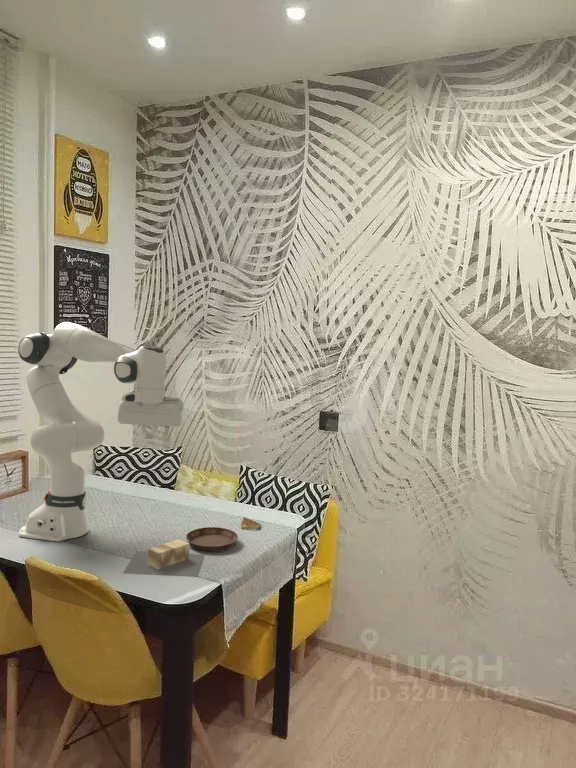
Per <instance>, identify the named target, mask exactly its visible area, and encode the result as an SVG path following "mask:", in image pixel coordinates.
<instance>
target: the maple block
mask: <svg viewBox="0 0 576 768" xmlns="http://www.w3.org/2000/svg"><path fill="white" fill-rule="evenodd" d="M147 552H148V565H150V566H152V567H154V568H156V569H161V568H164V567H167V566H169V565H172V564H175V563H178V562H181V561H184V560H187V559H189V554H190V543H189V542H188V541H187V542H186V541H184V540H182V539H175V540H172V541H169V542H165V543H162V544H159V545H156V546H153V547H149V548H148V549H147Z"/></svg>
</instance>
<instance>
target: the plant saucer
mask: <svg viewBox="0 0 576 768" xmlns="http://www.w3.org/2000/svg"><path fill="white" fill-rule="evenodd" d="M185 535H186V536H185V539H186V540H187V543H189V545H190V546H192V547H193V549H196V550H198V549H199V551H202V550H203V551H204V552H212V551H213V552H222V551H225V549H226V550H228V549H230V548H231V547H232V546H234V545H235V544H236V542H237V540H238V538H239V536H238V534H237V532H235V531H234V530H232V529H229V528H225V527H215V526H207V527H199V528H196V529H193V530H191V531H189V532H188V533H187V534H185ZM221 550H222V551H221ZM203 551H202V552H203Z"/></svg>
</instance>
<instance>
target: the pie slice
mask: <svg viewBox="0 0 576 768" xmlns="http://www.w3.org/2000/svg"><path fill="white" fill-rule="evenodd" d="M259 526H261V527H262V524H261V523H259V522H256V521H254V520H252V519H250V518H247V517H245V516H243V519H242V521H241V524H240V529H241V528H244V529H243V530H249V529H256V530H258V529H259V528H260V527H259ZM258 527H259V528H258Z"/></svg>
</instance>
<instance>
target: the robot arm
mask: <svg viewBox="0 0 576 768" xmlns="http://www.w3.org/2000/svg"><path fill="white" fill-rule="evenodd" d="M17 348H18V355H19V358H20V359H21V360H22V361H23V362H25V363H27V364H30V365H34V367H32V368H31V369H29V370H28V372H27V373H26V384H27V388H28V391H29V395H30V396H31V399H32V401H33V403H34V406H35V408H36V410H37V413H38V414H39V416H40V417H41V418H42V419H43V420H44V421H46V422H48V423H46V424H44V425H40V426H38V427H36V428H35V429H34V430H33V431H32V432H31V436H30V446H31V448H32V450H33V451H34V453H36V455H38V456H39V457H41V458H42V459H43V460H44V461H45V463H46V464H47V466H48V470H49V475H50V476H49V477H50V489H49V490H48V491H47V493H46V494H45V495H44V496H43V501H44V503H42V504H41V505H40V506H38V507H36V509H34V510H33V511H32V512H31V513H30V514H29V515H28V516H27V519H26V524H25V525H23V526H22V527H21V528H20V529H19V530H18V537H20V538H29V539H34V540H35V539H37V540H42V541H49V542H50V541H51V542H62V541H65V540H68V539H74V538H78V537H82V536H84V535H86V534H87V533H88V532H89V526H88V524H87V523H88V522H87V518H86V509H85V508H86V506H87V505H86V504H87V493H86V491H85V489H86V488H85V486H86V485H85V484H86V483H85V482H86V481H85V479H86V477H85V476H86V475H85V474H86V472H85V470H84V468H83V467H82V466H81V465H80V464H77V463H76V462H74V461H73V460H72V454H74V453H81V452H87V451H91V450H94V449H97V448H98V447H100V446H101V445H102V444H103V442H104V440H105V439H104V438H105V430H104V427H103V425H102V424H101V423H100V422H99V421H97V420H94V419H92V418H90V417H88V416H87V415H85V414H84V413H82V411H80V410H79V409H78V408H77V407H76V406H75V405H74V404H73V403H72V400H71V399H70V398H69V395H68V394H67V392H66V390H65V388H64V386H63V383H62V382H61V380H60V378H59V377H60V376H59V375H64V374H66V373H67V372H68V370H69V371H70V369H72V368H73V367H74V366H75V364H77V362H78V360H80V361H83V362H88V363H100V362H101V363H106V362H108V363H110V362H111V363H114V364H113V365H114V367H113V372H114V375H115V378H116V379H117V380H118V381H119V382H120V383H122V384H128V385H129V384H137V387H136V390H133V391H130V392H127V393H125V394H122V396H121V401H122V402H121V403H120V405H119V407H118V412H117V422H118V423H119V424H121V425H137V426H139V425H140V427H141V430H142V432H143V434H144V439H145V440H154V439H155V435H156V433H157V431H158V429H159V427H173V428H174V427H176V428H178V427H180V426H181V425H182V424H183V415H182V411H183V409H184V403H183V400H182V399H179V397H169V396H166V385H165V378H166V376H167V358H166V353H165V351H164V349H163V348H161V347H159V346H157V345H156V346H155V345H150V344H145V345H144V344H143V345H141V346H140V347H139V348H138V349H134V348H132V347H130V346H127V345H124V344H122V343H119V342H116V341H114V340H112V339H111V338H107V337H106V336H104V335H102V334H100V333H98V332H95V331H94V330H93V329H92V330H91V329H90V328H88V327H86V326H83V325H80V324H77V323H74V322H67V321H64V322H60V323H59V324H58V325H56V327H55V328H54V329H53V332H52V333H51V334H47V333H45V332H42V331H41V332H39V333H32V334H27V335H25V336H23V338H21V340H20V342H19V343H18V347H17ZM148 426H152V429H153V431H152V432H148V430H147V427H148Z"/></svg>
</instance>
